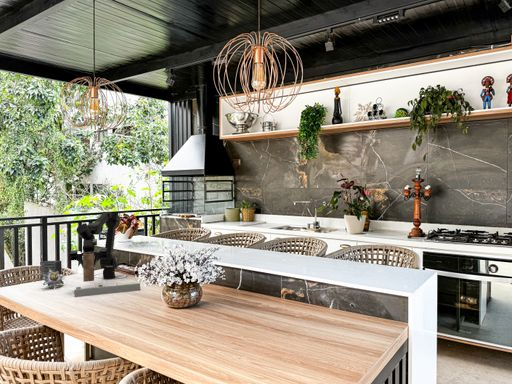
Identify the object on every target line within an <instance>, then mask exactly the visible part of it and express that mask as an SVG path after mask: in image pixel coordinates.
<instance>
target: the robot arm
mask: <svg viewBox="0 0 512 384" xmlns="http://www.w3.org/2000/svg"><path fill="white" fill-rule="evenodd" d="M120 222H121V216H120V215H118V214H117V213H114V212H112V211H103V212H102V213H101V214H100V215H99V217H98V218H96V219H95V221H94V222H90V223H89V224H87V223H85V222H84V223H81V225H79V226H78V227H77V228H76V233H77V234H78V236H79V237H80V238H81V239H83V242H82V243H83V244H82V251H79V250H78V249H75V250H74V249H72V250H70V251H69V255H68V256H69V261H77V262H79V263H80V265H81V267H82V269H83V254H84V253H94V268H95V267H96V265H97V264H98V262H99V265H100V269H103V270H102V278H103V280H105V279H106V280H108V279H115V278H116V270H115V269H117V268H118V262H117V260H116V255H115V254H114V247H115V239H116V230H117V228H118V227H119V225H120ZM104 225H105V226H106V227H107V228H106V229H107V232H106V237H105V239H106V240H105V246H104V248H100V247H99V250H98V251H95V250H96V249H95V248H96V247H95V246H98V239H97V238H95V236H96V235H97V236H99V235H100V234H101V232H102V227H103V226H104Z"/></svg>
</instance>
